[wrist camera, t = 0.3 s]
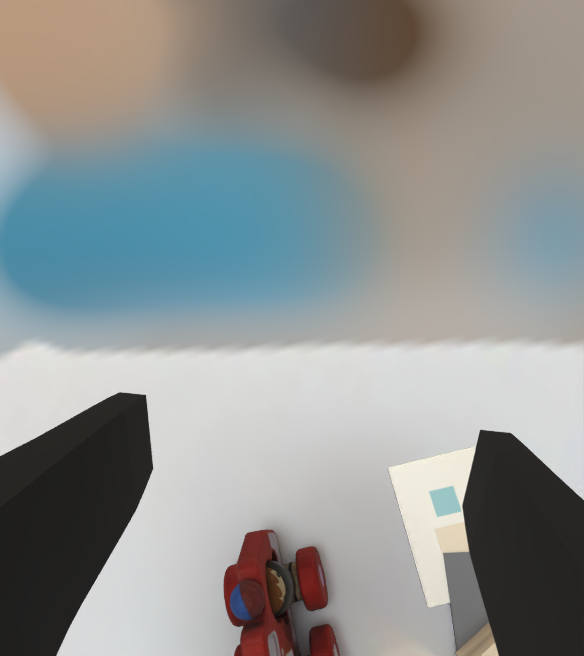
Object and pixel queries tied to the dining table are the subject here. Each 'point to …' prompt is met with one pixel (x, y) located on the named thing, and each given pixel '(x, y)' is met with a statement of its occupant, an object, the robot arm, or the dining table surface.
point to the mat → (464, 597)
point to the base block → (480, 644)
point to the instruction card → (434, 514)
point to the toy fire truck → (275, 598)
